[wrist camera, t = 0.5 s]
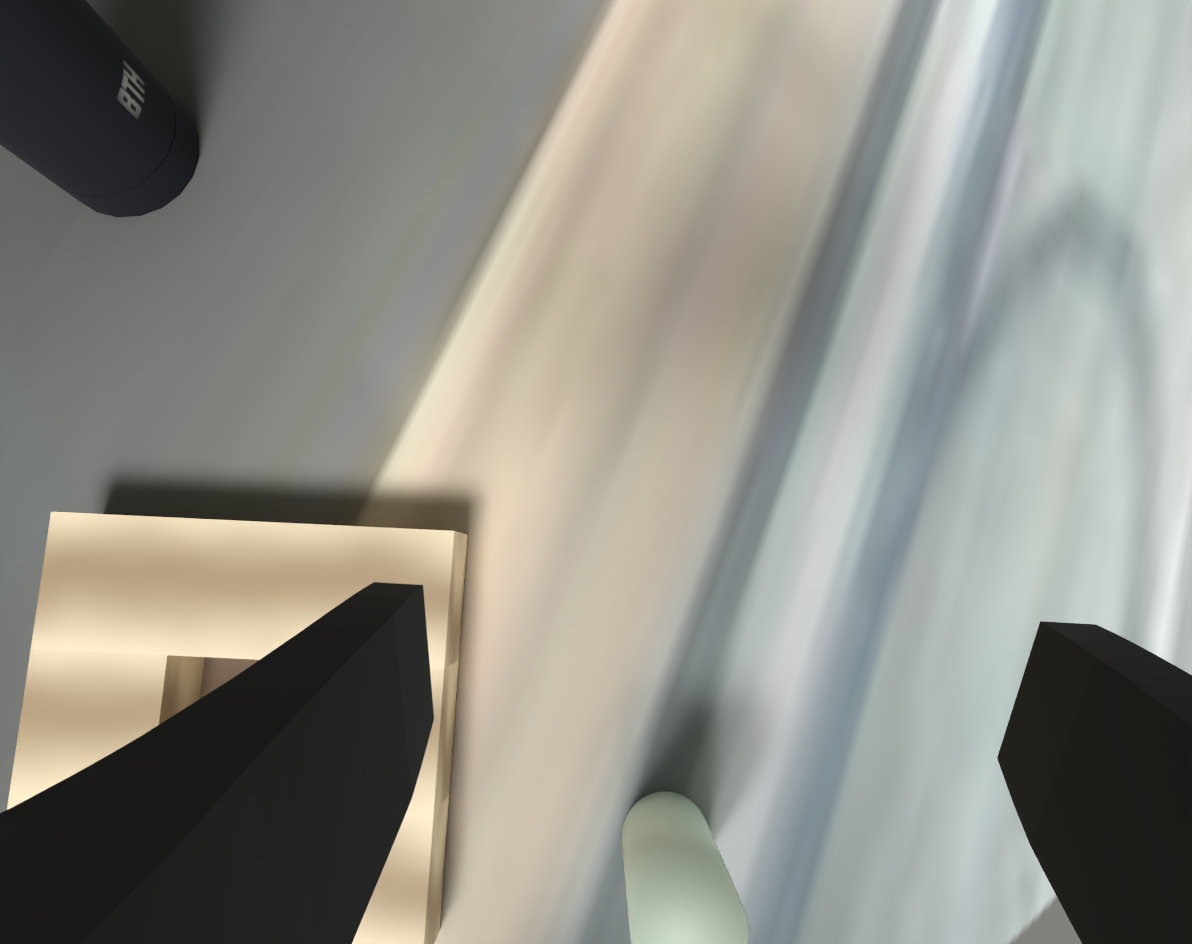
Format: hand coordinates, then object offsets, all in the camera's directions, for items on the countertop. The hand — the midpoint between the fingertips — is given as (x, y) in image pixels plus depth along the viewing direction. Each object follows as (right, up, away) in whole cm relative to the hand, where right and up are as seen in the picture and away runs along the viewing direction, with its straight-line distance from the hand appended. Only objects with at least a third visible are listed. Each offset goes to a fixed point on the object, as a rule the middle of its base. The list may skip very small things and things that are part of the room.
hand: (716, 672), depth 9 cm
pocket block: (-15, -8, +22) cm, 28 cm away
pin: (+1, -13, +21) cm, 25 cm away
